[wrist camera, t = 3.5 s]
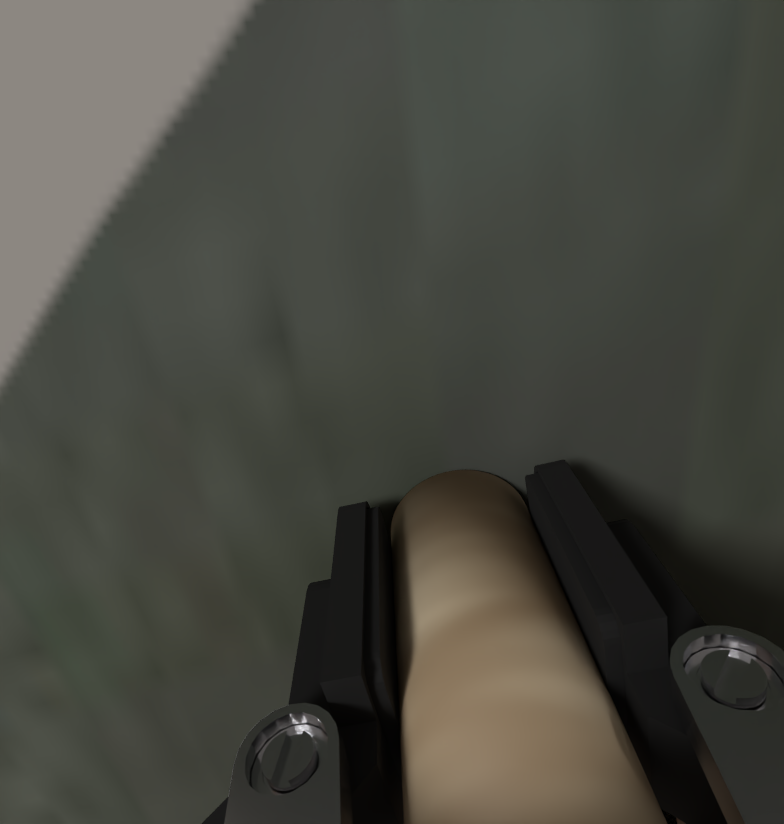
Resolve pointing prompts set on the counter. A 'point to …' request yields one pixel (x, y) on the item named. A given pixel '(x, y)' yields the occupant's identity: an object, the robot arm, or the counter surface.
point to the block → (499, 672)
